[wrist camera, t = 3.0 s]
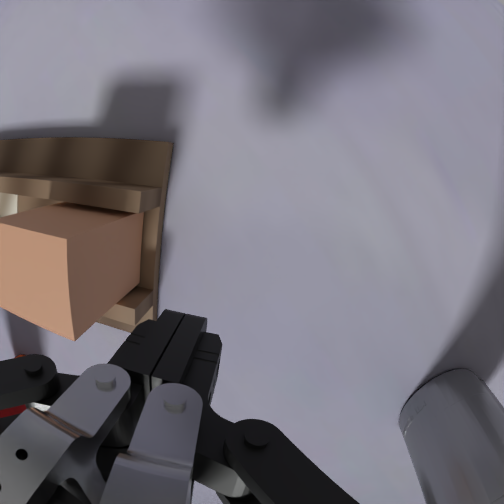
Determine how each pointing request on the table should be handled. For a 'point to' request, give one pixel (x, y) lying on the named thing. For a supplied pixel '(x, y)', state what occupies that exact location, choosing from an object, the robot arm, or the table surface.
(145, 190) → the chute
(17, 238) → the block
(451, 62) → the table surface
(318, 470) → the robot arm
